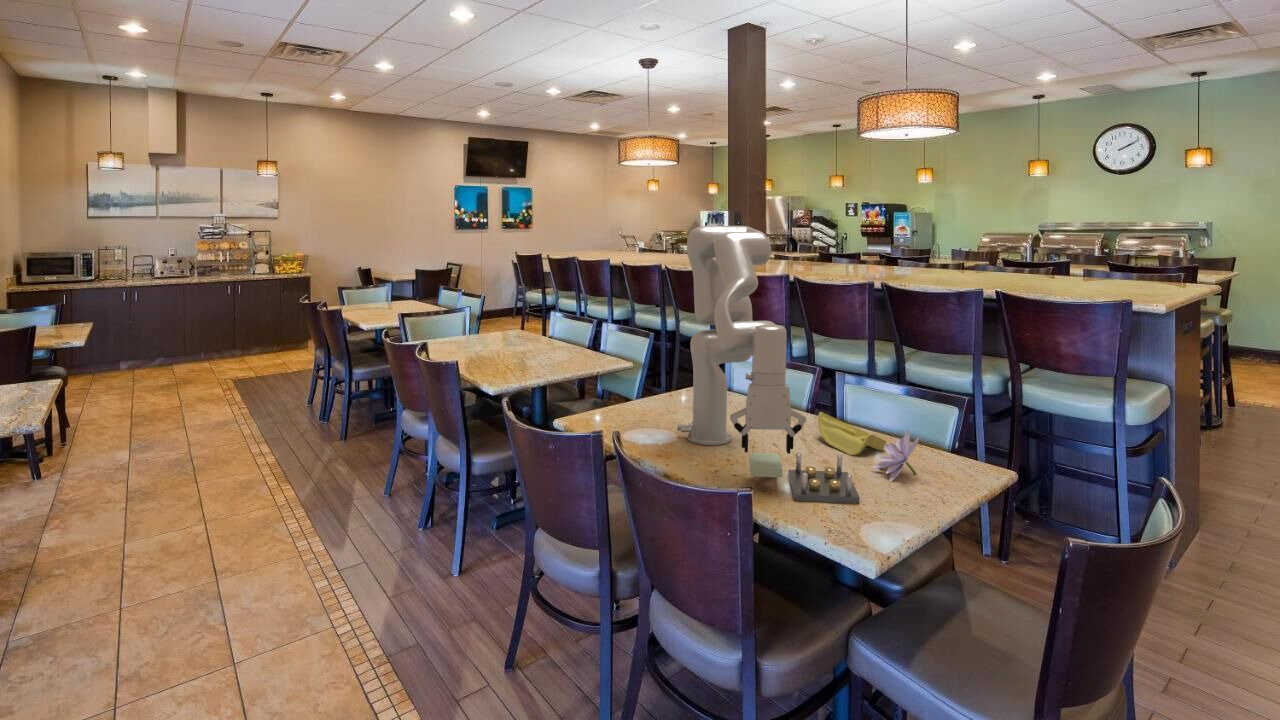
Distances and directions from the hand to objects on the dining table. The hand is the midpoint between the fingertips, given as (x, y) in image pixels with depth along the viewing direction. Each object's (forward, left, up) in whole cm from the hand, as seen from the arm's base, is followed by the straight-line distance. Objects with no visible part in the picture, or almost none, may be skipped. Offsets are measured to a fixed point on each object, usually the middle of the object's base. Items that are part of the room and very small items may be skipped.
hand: (767, 451), depth 159 cm
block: (0, +1, -8) cm, 8 cm away
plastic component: (+25, +35, -9) cm, 44 cm away
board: (0, +1, -4) cm, 4 cm away
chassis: (+13, 0, -8) cm, 15 cm away
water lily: (+32, +13, -9) cm, 35 cm away
